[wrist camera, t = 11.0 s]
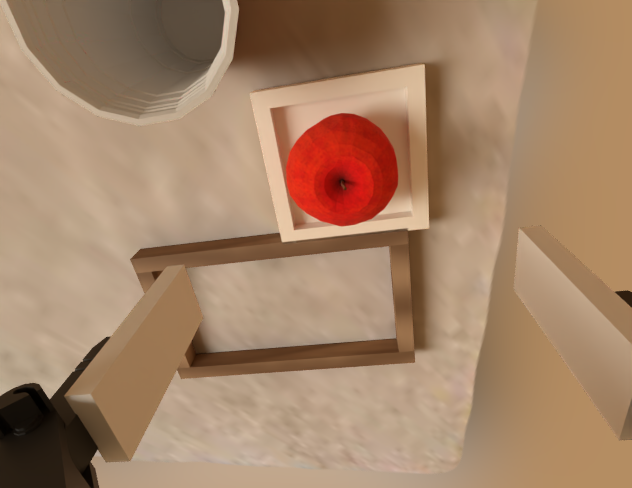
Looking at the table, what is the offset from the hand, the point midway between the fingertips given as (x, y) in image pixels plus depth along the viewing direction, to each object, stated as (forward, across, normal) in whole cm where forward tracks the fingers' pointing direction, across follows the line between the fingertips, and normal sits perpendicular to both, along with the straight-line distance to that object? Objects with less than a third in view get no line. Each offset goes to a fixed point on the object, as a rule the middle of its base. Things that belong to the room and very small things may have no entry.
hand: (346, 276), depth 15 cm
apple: (+18, 0, 0) cm, 18 cm away
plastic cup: (+19, -9, +11) cm, 24 cm away
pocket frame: (+18, -8, -14) cm, 24 cm away
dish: (+18, 0, 0) cm, 18 cm away
